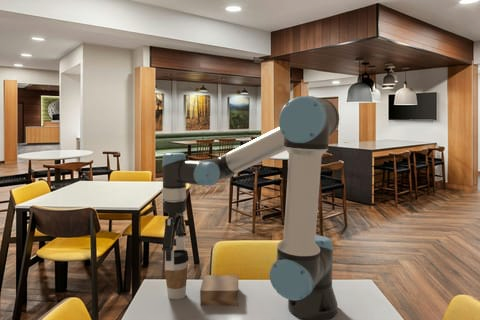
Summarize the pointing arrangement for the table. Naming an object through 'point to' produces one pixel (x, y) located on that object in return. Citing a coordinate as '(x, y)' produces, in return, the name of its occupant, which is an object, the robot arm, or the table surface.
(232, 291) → the walnut block
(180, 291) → the coffee cup
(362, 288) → the table surface
